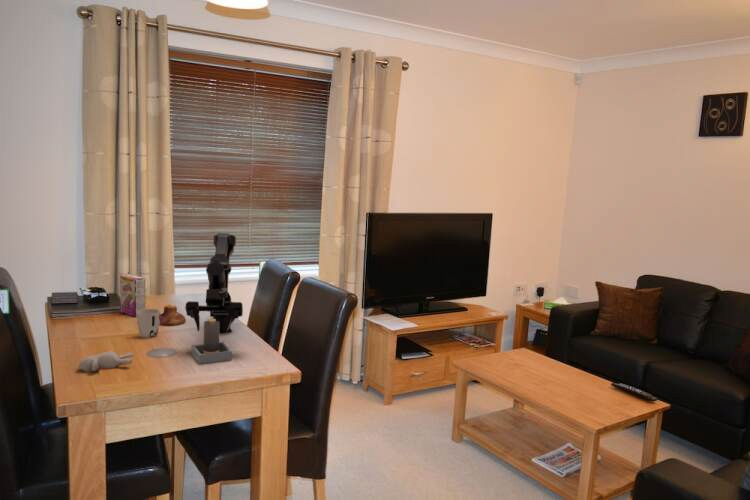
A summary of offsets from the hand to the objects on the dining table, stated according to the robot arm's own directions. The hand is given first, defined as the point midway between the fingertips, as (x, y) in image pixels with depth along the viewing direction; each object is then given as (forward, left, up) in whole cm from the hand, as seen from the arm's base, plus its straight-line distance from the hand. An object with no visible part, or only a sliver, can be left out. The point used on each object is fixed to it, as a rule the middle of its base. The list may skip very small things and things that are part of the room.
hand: (212, 330), depth 190 cm
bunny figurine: (+32, -2, -10) cm, 34 cm away
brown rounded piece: (+5, -49, -10) cm, 50 cm away
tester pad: (+15, -8, -10) cm, 19 cm away
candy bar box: (+17, -66, -10) cm, 69 cm away
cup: (+16, -30, -10) cm, 35 cm away
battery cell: (+1, +2, -8) cm, 9 cm away
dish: (+1, +2, -10) cm, 10 cm away
